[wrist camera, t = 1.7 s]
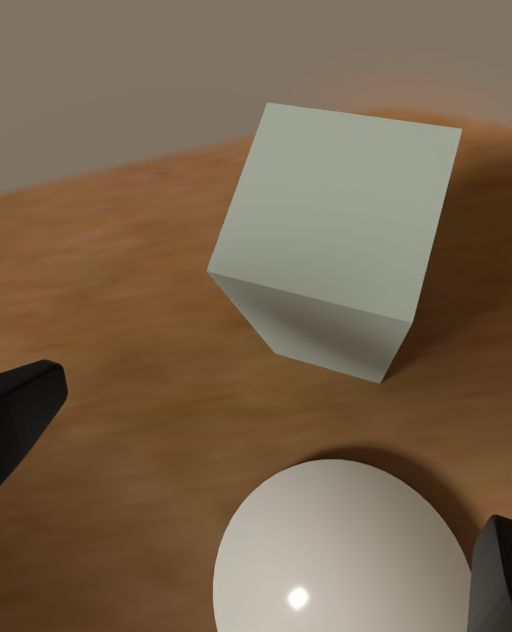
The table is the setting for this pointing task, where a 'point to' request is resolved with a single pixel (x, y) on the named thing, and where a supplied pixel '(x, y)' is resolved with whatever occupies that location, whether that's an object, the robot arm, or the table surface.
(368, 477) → the coaster
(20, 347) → the table surface
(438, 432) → the table surface
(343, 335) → the sage block
